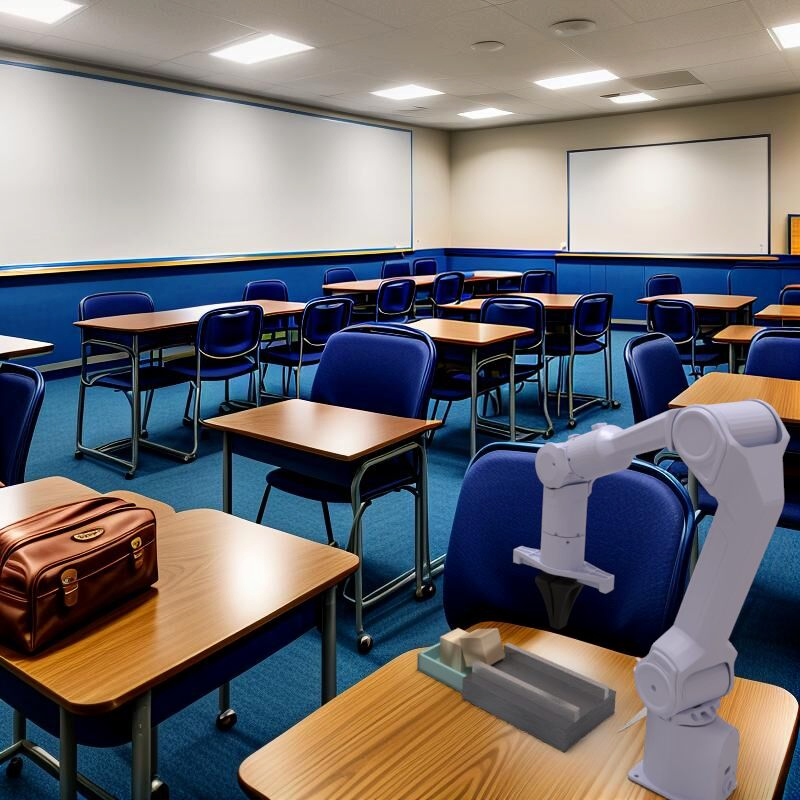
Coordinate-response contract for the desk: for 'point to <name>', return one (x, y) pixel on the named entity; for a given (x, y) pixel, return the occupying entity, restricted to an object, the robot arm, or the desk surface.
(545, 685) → the slot board
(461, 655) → the block
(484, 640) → the block
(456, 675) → the tray
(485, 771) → the desk surface
